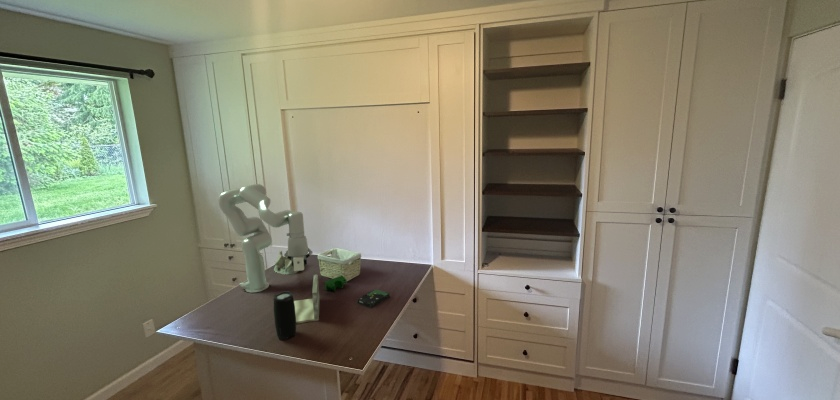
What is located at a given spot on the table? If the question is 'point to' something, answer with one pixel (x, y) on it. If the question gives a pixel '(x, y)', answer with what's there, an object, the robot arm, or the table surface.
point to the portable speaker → (284, 315)
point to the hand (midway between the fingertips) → (299, 266)
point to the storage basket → (339, 263)
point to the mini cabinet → (298, 263)
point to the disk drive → (373, 298)
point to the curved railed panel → (308, 305)
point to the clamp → (335, 283)
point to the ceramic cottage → (284, 265)
